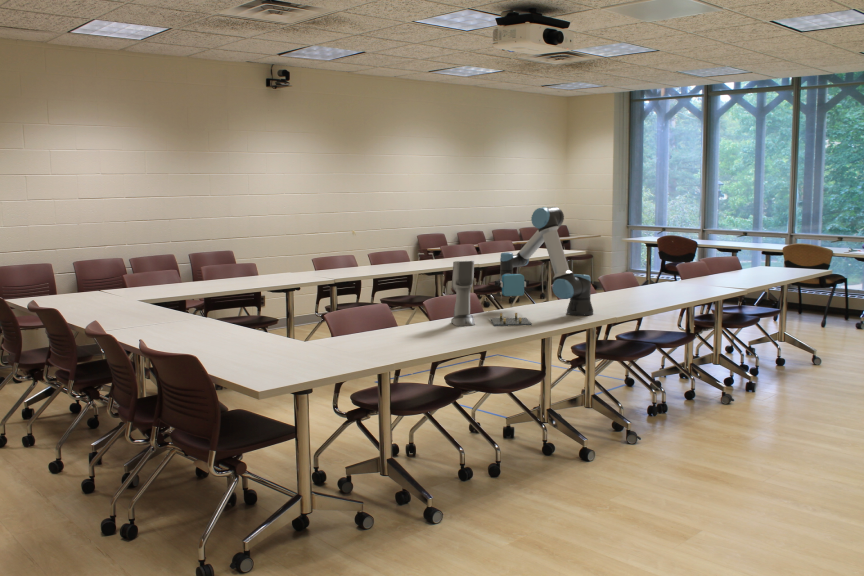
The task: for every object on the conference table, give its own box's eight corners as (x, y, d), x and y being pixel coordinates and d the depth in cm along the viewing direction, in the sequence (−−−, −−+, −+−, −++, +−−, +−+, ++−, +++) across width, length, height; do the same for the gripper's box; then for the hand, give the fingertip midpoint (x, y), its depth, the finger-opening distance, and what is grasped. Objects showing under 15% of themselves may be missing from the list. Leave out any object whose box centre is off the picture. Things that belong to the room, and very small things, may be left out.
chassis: (526, 319, 408) (526, 312, 408) (531, 325, 390) (531, 318, 389) (490, 320, 408) (490, 313, 407) (494, 326, 389) (494, 318, 388)
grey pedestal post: (455, 326, 389) (454, 261, 385) (450, 322, 402) (449, 259, 397) (476, 325, 391) (476, 260, 387) (470, 321, 404) (470, 258, 399)
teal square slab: (522, 294, 419) (522, 273, 417) (524, 295, 414) (524, 274, 413) (501, 295, 417) (501, 274, 415) (503, 296, 412) (503, 275, 411)
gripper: (529, 286, 434) (535, 290, 413) (488, 286, 433) (492, 291, 412) (529, 273, 433) (535, 277, 412) (488, 274, 432) (492, 278, 411)
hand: (513, 284), depth 412 cm, fingers closed on teal square slab, 12 cm apart
